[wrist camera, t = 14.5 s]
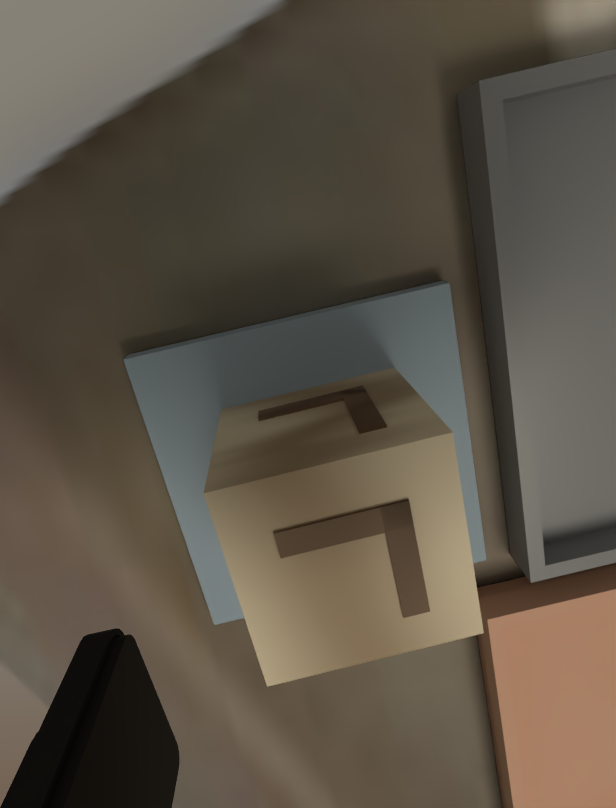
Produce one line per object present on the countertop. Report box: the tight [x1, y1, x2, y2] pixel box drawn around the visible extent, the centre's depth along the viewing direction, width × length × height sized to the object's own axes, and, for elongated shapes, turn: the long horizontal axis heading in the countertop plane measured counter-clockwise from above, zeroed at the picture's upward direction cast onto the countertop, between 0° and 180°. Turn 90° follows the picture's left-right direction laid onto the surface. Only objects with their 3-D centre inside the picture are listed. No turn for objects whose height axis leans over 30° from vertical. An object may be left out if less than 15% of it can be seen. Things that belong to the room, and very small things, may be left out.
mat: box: [123, 281, 486, 625], centre depth 17 cm, size 9×9×1 cm
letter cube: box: [203, 367, 484, 687], centre depth 14 cm, size 5×5×5 cm
